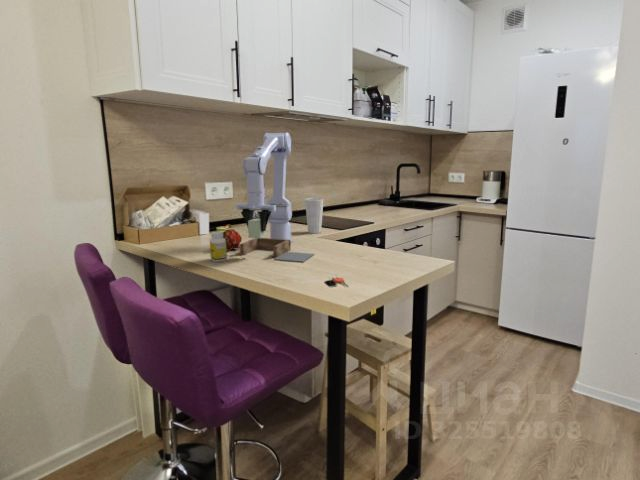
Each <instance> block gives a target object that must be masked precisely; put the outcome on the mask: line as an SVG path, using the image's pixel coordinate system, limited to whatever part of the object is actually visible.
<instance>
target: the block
mask: <svg viewBox="0 0 640 480" xmlns="http://www.w3.org/2000/svg"><path fill="white" fill-rule="evenodd" d="M247 229H248V233H247V234H248V238H250V239H254V238H266V236H267V233H266V232H267V230H266V231H263V232H262V231H261V221H260V218H253V219H252V220H249V221H248V227H247Z"/></svg>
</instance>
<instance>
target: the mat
mask: <svg viewBox="0 0 640 480" xmlns="http://www.w3.org/2000/svg"><path fill="white" fill-rule="evenodd" d="M314 256H315V253H307V252H306V253H305V252H293V251H288V252H285V253H283V254H282V255H280V256H278V257H276V258H274V259H273V261H280V262H294V263H305V262H306V261H308V260H309V259H310V258H312V257H314Z"/></svg>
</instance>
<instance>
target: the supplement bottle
mask: <svg viewBox="0 0 640 480" xmlns="http://www.w3.org/2000/svg"><path fill="white" fill-rule="evenodd" d="M223 232H224V231H217V230H216V231H212V232H211V233H210V235H211V236H210V237H211V238H210V239H209V247H210V249H209V250H210V260H211V261H212V262H215V263H216V262H217V263H218V262H224V261H227V259H228V256H227V254H228V253H227V250H226V240H225V238H223Z"/></svg>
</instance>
